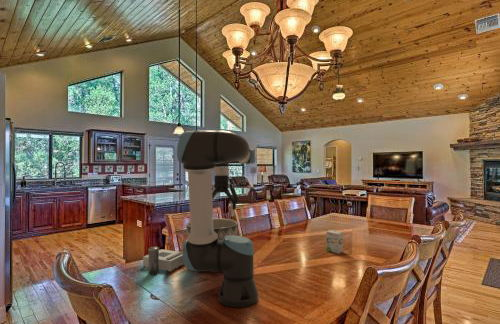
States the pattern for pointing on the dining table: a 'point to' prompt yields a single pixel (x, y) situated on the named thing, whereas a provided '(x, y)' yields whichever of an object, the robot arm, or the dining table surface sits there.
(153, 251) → the metal cylinder
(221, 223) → the planter
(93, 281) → the dining table surface
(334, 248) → the ink box
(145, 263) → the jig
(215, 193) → the robot arm
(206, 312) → the dining table surface
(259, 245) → the dining table surface
